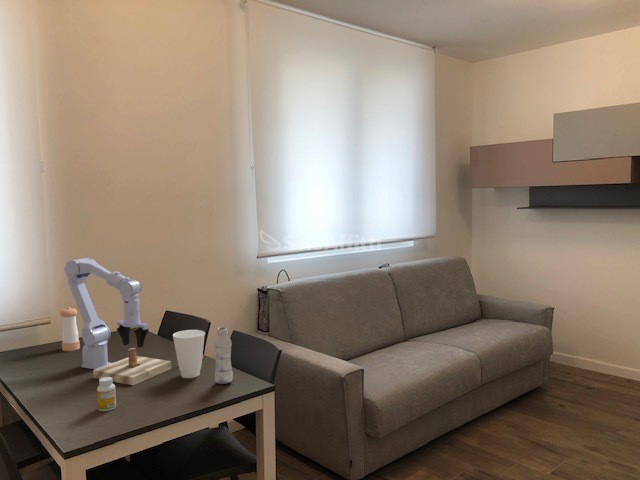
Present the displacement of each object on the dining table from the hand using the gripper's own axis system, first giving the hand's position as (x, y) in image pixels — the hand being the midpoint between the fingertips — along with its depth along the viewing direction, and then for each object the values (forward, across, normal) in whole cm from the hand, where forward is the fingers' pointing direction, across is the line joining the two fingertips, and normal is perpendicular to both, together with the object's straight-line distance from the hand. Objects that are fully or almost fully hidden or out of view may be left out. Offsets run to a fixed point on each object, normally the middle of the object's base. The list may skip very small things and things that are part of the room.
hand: (133, 345), depth 210 cm
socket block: (+10, +3, -3) cm, 11 cm away
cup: (+10, +24, +4) cm, 27 cm away
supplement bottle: (+10, +21, -32) cm, 39 cm away
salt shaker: (+10, -50, +10) cm, 52 cm away
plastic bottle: (+10, +42, +2) cm, 43 cm away
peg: (+10, +3, -3) cm, 11 cm away
